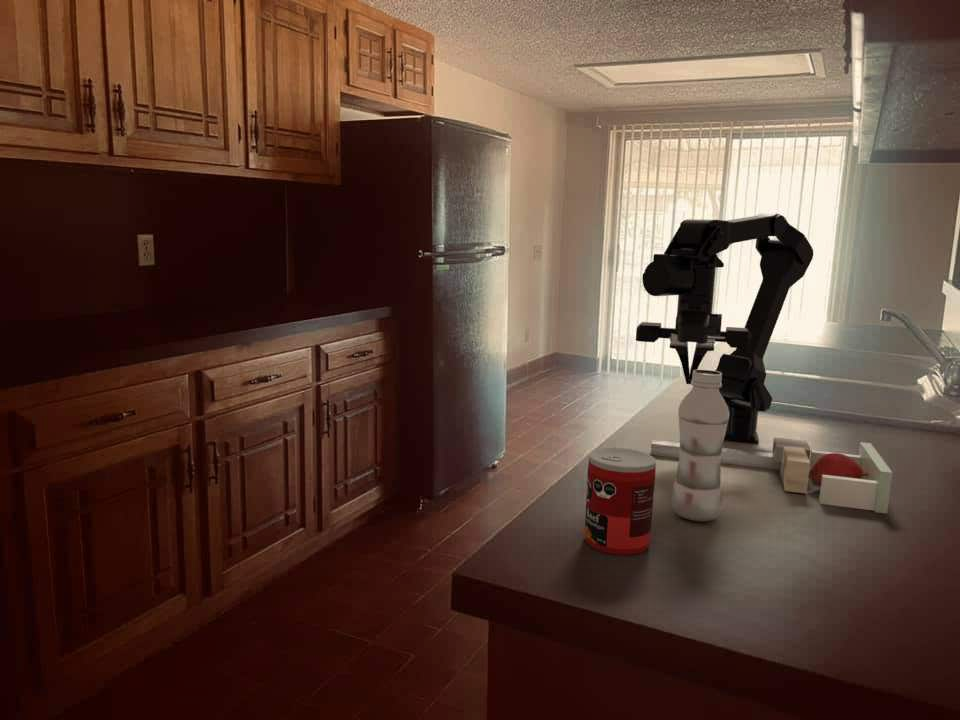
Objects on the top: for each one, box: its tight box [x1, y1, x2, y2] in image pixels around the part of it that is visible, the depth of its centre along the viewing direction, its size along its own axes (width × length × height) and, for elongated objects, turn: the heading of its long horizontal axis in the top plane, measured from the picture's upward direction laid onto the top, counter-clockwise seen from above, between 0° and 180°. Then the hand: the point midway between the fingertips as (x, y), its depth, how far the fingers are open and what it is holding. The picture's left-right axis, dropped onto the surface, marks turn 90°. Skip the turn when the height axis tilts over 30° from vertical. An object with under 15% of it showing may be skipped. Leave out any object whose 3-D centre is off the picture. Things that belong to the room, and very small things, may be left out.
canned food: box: [584, 447, 657, 556], centre depth 88 cm, size 8×8×11 cm
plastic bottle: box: [671, 368, 729, 522], centre depth 96 cm, size 6×7×20 cm
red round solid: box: [809, 452, 868, 487], centre depth 109 cm, size 6×6×8 cm
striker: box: [772, 437, 812, 495], centre depth 114 cm, size 14×5×5 cm, turn 162°
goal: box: [809, 441, 893, 515], centre depth 109 cm, size 15×8×6 cm, turn 162°
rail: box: [650, 439, 782, 471], centre depth 122 cm, size 2×31×2 cm, turn 72°
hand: (688, 383), depth 127 cm, fingers closed
